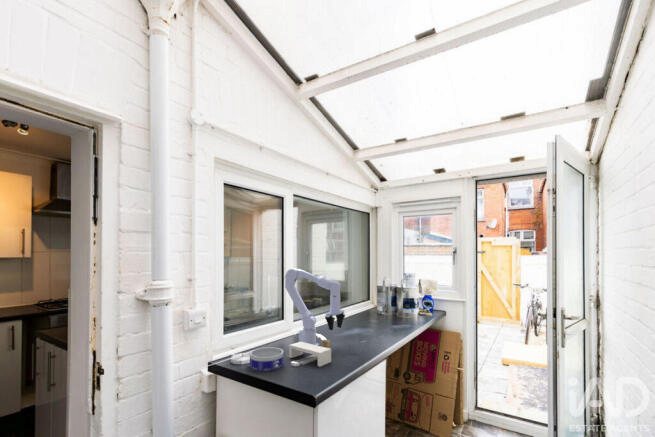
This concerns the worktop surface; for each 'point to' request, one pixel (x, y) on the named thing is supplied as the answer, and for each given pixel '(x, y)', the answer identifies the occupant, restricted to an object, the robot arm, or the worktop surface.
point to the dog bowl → (266, 359)
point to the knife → (321, 336)
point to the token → (295, 363)
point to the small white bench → (311, 352)
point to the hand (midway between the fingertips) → (335, 328)
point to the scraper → (314, 357)
